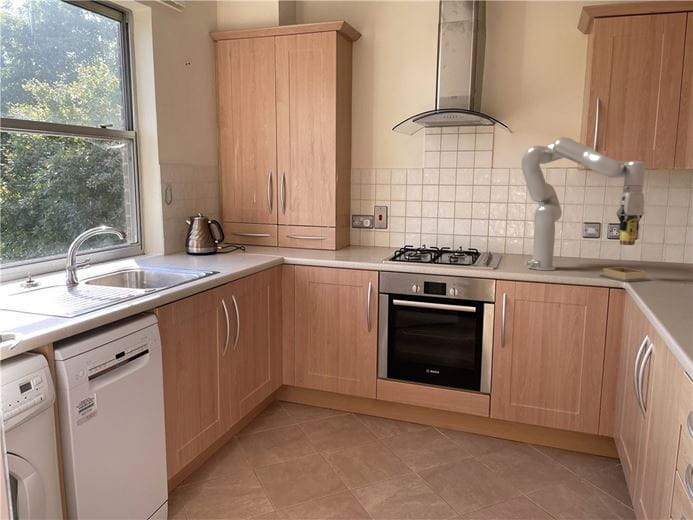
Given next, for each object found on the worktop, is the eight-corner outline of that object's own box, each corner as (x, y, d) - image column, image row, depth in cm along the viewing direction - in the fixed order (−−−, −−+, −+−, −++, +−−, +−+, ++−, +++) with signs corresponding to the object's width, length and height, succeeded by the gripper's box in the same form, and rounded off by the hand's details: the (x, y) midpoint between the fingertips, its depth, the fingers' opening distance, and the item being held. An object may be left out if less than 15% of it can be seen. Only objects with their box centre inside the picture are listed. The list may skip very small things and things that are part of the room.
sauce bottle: (630, 246, 230) (635, 200, 227) (616, 244, 235) (620, 199, 232) (637, 244, 234) (642, 200, 231) (623, 243, 239) (628, 199, 236)
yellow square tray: (625, 282, 228) (626, 273, 228) (599, 276, 241) (600, 268, 240) (648, 280, 233) (649, 272, 233) (622, 274, 246) (622, 266, 245)
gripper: (625, 189, 224) (621, 231, 227) (654, 189, 230) (650, 230, 233) (611, 189, 231) (607, 229, 234) (639, 189, 237) (635, 228, 240)
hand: (628, 229), depth 234 cm, fingers closed on sauce bottle, 6 cm apart
